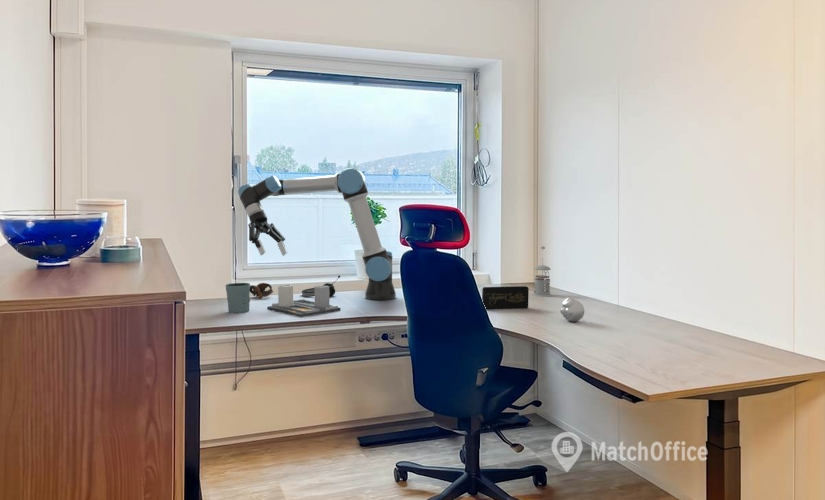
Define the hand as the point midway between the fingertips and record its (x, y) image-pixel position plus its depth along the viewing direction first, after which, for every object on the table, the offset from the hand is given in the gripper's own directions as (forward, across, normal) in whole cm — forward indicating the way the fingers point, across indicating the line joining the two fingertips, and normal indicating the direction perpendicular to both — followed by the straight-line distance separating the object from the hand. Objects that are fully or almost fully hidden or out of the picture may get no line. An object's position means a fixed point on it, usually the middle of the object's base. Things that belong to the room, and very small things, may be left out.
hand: (274, 254), depth 268 cm
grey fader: (+32, -7, +6) cm, 33 cm away
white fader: (+24, 0, -6) cm, 24 cm away
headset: (+15, -38, -15) cm, 44 cm away
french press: (+65, -100, +65) cm, 136 cm away
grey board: (+29, -3, 0) cm, 29 cm away
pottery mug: (+5, -16, -32) cm, 37 cm away
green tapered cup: (+18, +15, -18) cm, 30 cm away
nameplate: (+68, -54, +62) cm, 107 cm away
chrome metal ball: (+89, -42, +89) cm, 132 cm away
